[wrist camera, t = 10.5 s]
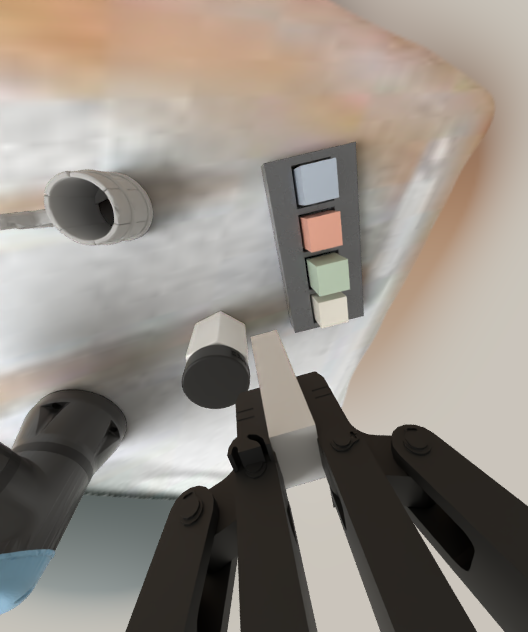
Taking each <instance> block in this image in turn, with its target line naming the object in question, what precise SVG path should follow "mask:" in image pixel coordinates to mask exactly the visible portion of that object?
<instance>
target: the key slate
mask: <svg viewBox="0 0 528 632" xmlns="http://www.w3.org/2000/svg"><path fill="white" fill-rule="evenodd" d="M292 177H293V184H294V191H295V198H296V204H297V205H310V204H314V203H318V202H322V201H326V200H330V199H334V198H339V189H338V175H337V162H336V158H332V159H328V160H323V161H319V162H315V163H311V164H307V165H302V166H299V167H297V168H296V169H294V170H292Z"/></svg>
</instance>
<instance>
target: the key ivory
mask: <svg viewBox="0 0 528 632" xmlns="http://www.w3.org/2000/svg"><path fill="white" fill-rule="evenodd" d="M310 301H311V308H312V315H313V317H314V318H315V320H316V321H317V323H318V324H319V326H320V327H321V328H326V327H330V326H334V325H338V324H342V323H346V322H349V321H348V308H347V296H346V295H344V294H343V293H342V292H337V293H333V294H329V295H325V296H321V297H320V296H319V295H318V294H317V293H315V294H311V295H310Z"/></svg>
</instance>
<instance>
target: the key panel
mask: <svg viewBox="0 0 528 632" xmlns="http://www.w3.org/2000/svg"><path fill="white" fill-rule="evenodd" d="M332 158H336V162H337V175H338V189H339V198H334V199H330V200H326V201H322V202H318V203H314V204H310V205H305V206H301V207H297V204H296V198H295V191H294V184H293V177H292V170H291V168H292V167H296V166H300V165H304V164H309V163H313V162H317V161H321V160H322V161H323V160H328V159H332ZM261 170H262V175H263V180H264V185H265V191H266V196H267V201H268V206H269V212H270V217H271V222H272V227H273V233H274V238H275V243H276V248H277V254H278V259H279V264H280V269H281V275H282V280H283V285H284V290H285V296H286V301H287V306H288V311H289V317H290V322H291V325H292V328H293V330H294V332H295V333H297V332H301V331H305V330H309V329H313V328H317V327H320V326H319V324H318V323H317V321H316V320H315V318H314V317H313V315H312V308H311V301H310V295H311V294H315V293H316V292H315V291H314V290H313V288H312V287H311V286H310V283H308V280H307V273H306V266H305V260H304V258H305V257H309V256H313V255H317V254H322V253H326V252H330V251H331V253H334V252H335V253H337V254H339V255H341V256H343V257H345V258H347V259H348V267H349V282H350V289H349V290H345V291H341V292H342V293H343V294H344V295H346V296H347V308H348V320H349V319H353V318H357V317H361V316H364V313H363V291H362V269H361V248H360V226H359V204H358V182H357V161H356V142H353V143H349V144H345V145H340V146H336V147H332V148H328V149H324V150H319V151H315V152H311V153H307V154H303V155H298V156H294V157H290V158H286V159H282V160H277V161H273V162H269V163H265V164H263V165H262V166H261ZM326 208H327V210H333V211H340V215H341V228H342V241H343V245H341V246H337V247H333V248H329V249H325V250H320V251H316V252H312V253H311V252H310V251H308V250H307V249H305V248H303V246H302V239H301V232H300V225H299V218H298V215H301V214H305V213H309V212H313V211H318V210H322V209H326Z"/></svg>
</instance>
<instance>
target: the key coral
mask: <svg viewBox="0 0 528 632" xmlns="http://www.w3.org/2000/svg"><path fill="white" fill-rule="evenodd" d="M298 218H299V225H300V232H301V239H302V246H303V247H304V248H305V249H307V250H308V251H310V252H311V253H312V252H316V251H320V250H325V249H329V248H333V247H337V246H341V245H343V241H342V228H341V215H340V211H333V210H325V211H321V212H317V213H312V214H308V215H304V216H300V217H298Z"/></svg>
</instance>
